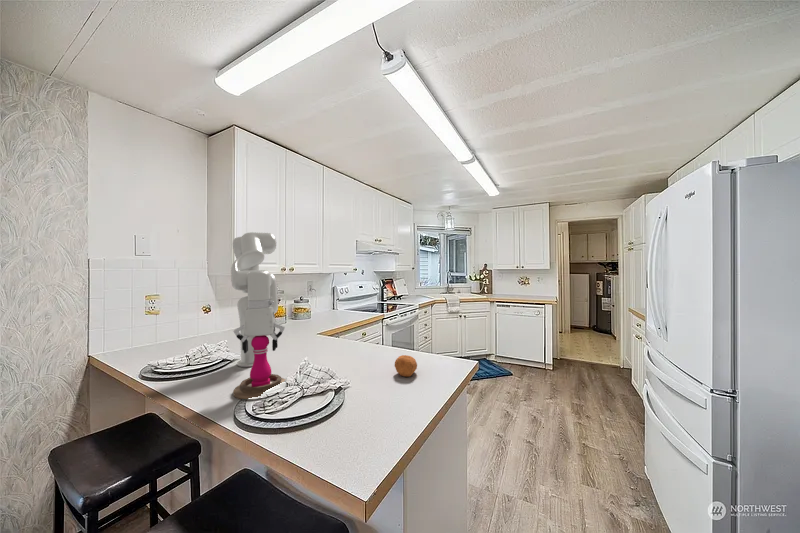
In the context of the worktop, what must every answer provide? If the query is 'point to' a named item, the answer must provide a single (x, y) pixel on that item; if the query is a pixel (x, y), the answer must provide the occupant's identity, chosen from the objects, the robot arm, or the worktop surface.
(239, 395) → the round tray
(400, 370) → the potato
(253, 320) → the robot arm
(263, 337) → the pepper mill
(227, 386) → the worktop surface
